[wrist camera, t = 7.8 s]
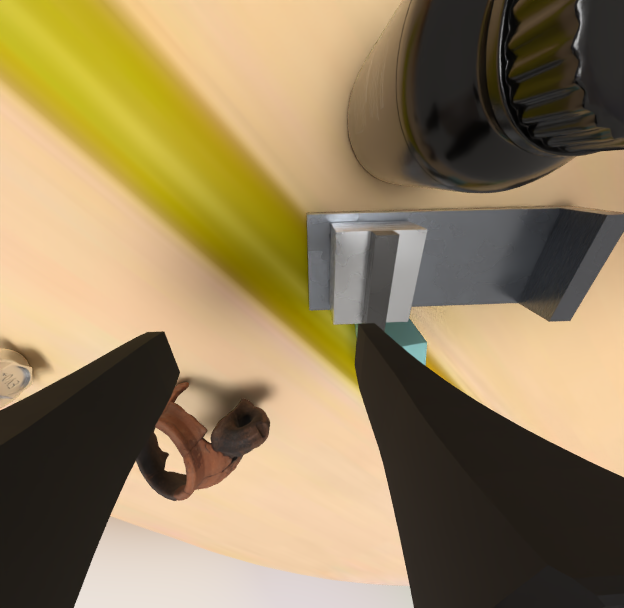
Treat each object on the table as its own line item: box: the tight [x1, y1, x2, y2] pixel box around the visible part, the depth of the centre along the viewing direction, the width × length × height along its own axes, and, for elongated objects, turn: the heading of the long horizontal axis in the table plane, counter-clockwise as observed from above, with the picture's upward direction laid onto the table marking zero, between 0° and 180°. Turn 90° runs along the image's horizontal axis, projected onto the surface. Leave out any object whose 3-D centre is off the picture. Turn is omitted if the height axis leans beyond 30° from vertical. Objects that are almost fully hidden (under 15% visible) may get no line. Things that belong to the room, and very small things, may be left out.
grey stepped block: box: [329, 221, 427, 331], centre depth 15 cm, size 5×6×4 cm
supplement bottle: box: [348, 0, 624, 193], centre depth 8 cm, size 7×7×12 cm
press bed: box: [307, 206, 624, 322], centre depth 16 cm, size 18×7×4 cm, turn 91°
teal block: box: [355, 319, 427, 365], centre depth 19 cm, size 4×5×4 cm
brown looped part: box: [136, 382, 270, 501], centre depth 22 cm, size 12×9×8 cm
